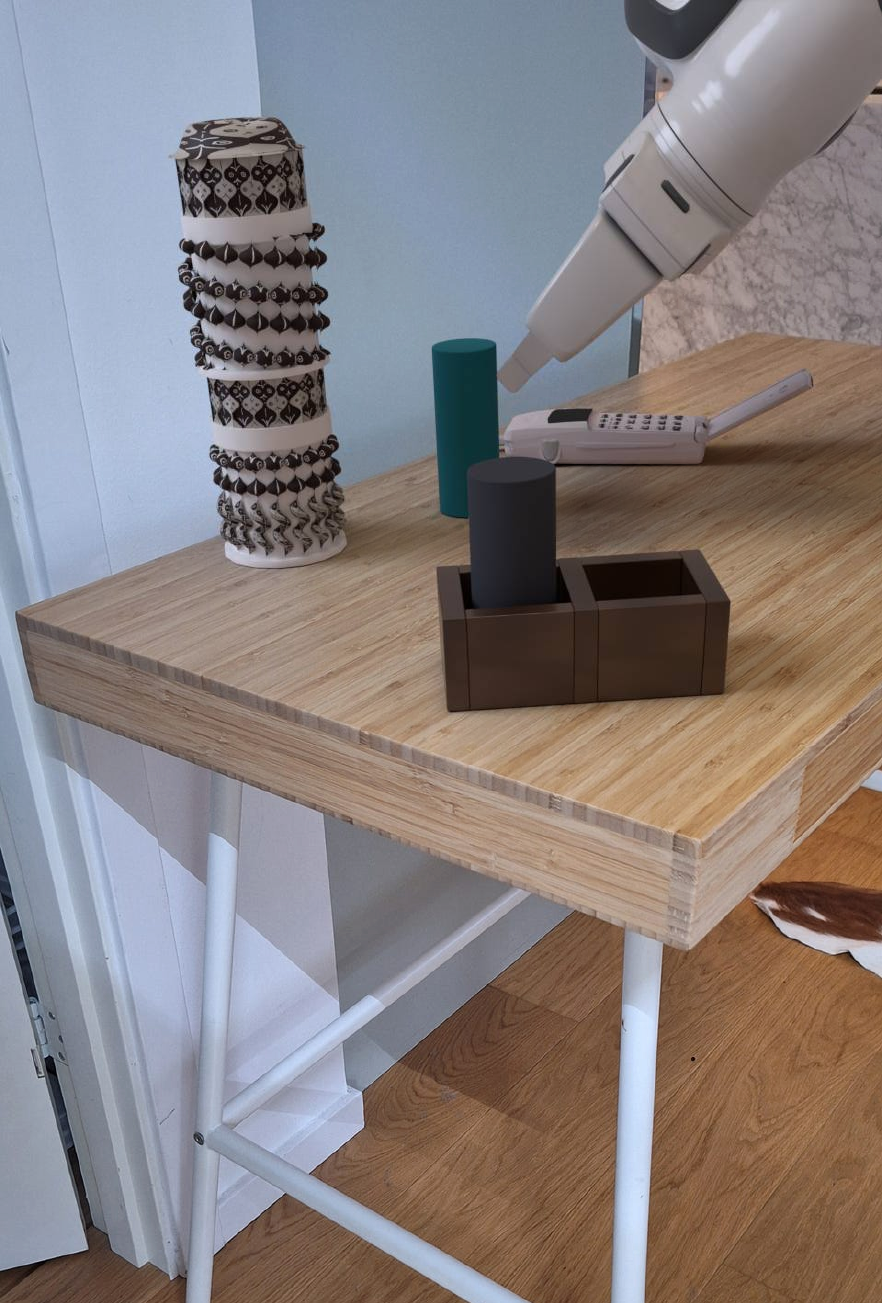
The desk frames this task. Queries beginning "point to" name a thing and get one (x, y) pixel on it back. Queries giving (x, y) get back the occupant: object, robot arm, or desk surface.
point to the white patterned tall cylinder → (260, 339)
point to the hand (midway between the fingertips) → (519, 366)
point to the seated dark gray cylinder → (512, 532)
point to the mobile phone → (636, 430)
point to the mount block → (588, 634)
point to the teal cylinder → (464, 415)
